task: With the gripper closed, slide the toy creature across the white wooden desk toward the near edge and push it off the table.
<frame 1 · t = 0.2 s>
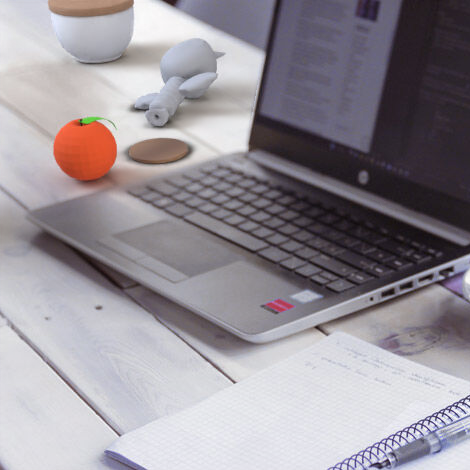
cork coaster: (158, 151, 115), on the table
lidded bowl: (98, 57, 148), on the table
toy creature: (184, 102, 131), on the table
clementine: (93, 178, 109), on the table
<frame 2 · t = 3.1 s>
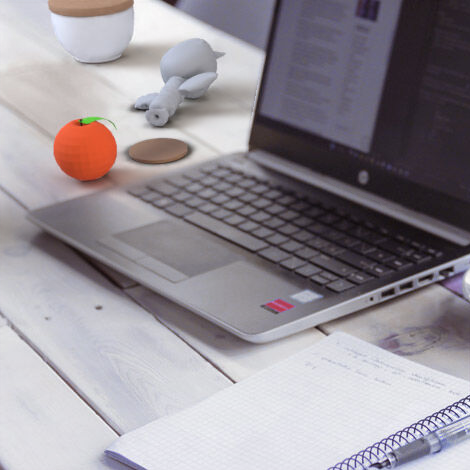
nothing on the table moved.
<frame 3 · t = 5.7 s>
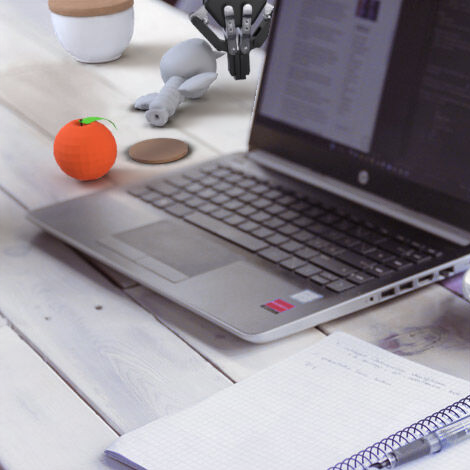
hand: (239, 78, 132), 2 cm above the table, tool pointing down, fingers closed
toy creature: (184, 102, 131), on the table, touching gripper
everything else where it was.
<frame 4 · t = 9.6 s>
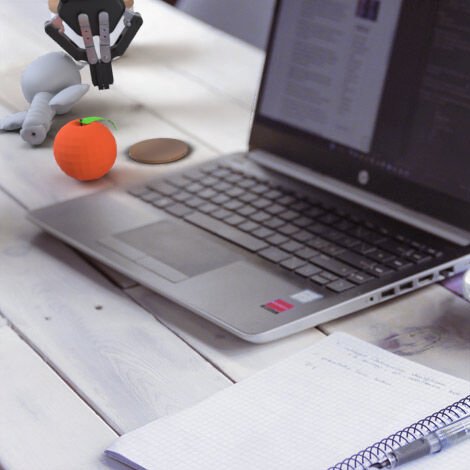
hand: (103, 87, 127), 3 cm above the table, tool pointing down, fingers closed
toy creature: (51, 118, 125), on the table, touching gripper
everything else where it was.
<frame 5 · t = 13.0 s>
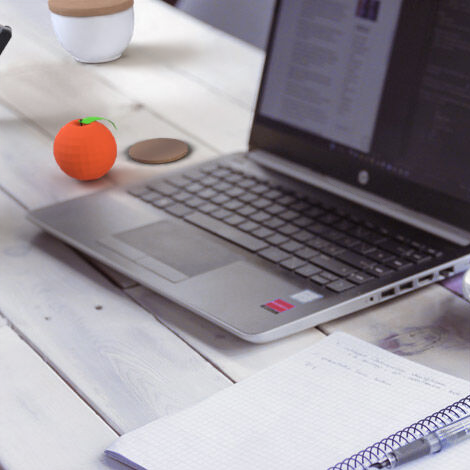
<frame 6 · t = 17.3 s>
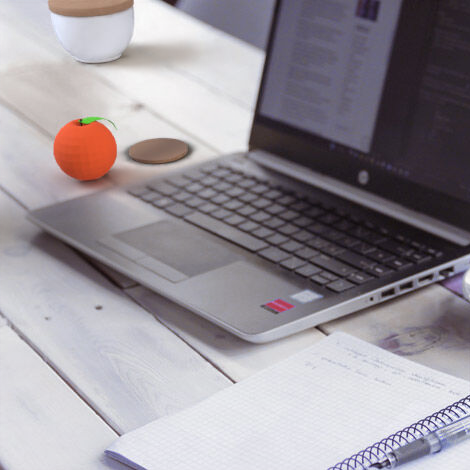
at the end: toy creature on the floor; toy creature moved 95.9 cm from its start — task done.
